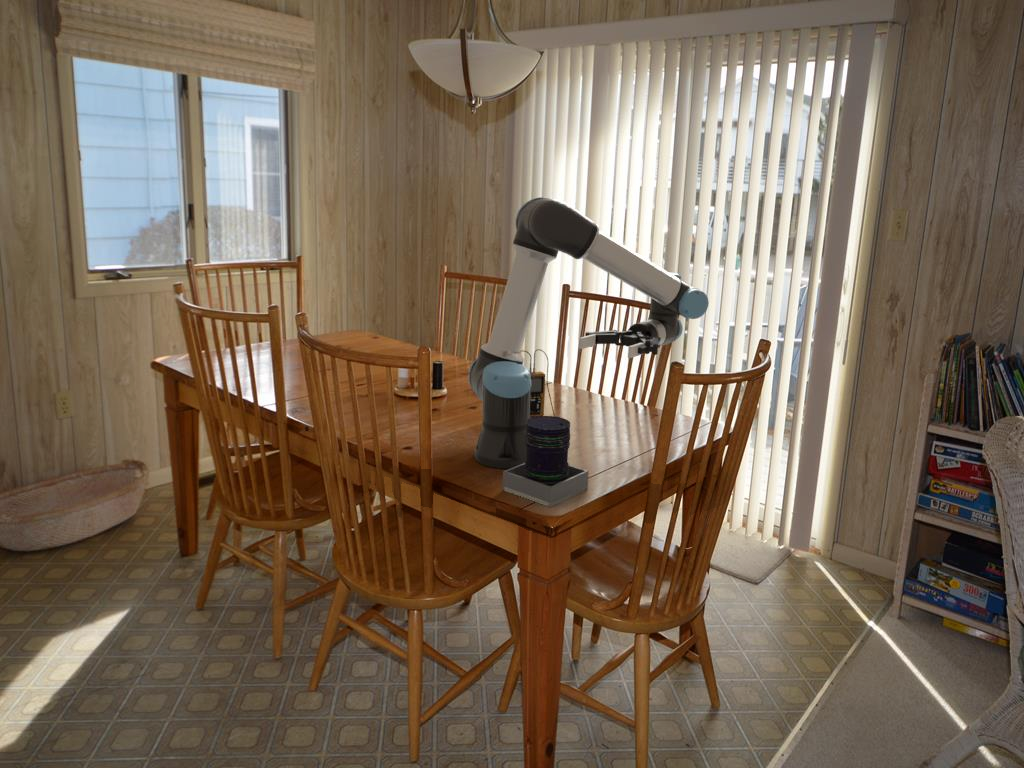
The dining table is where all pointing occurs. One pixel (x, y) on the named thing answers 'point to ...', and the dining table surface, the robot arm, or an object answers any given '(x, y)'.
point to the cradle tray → (545, 486)
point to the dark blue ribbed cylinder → (547, 449)
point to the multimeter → (537, 390)
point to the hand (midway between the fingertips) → (604, 347)
